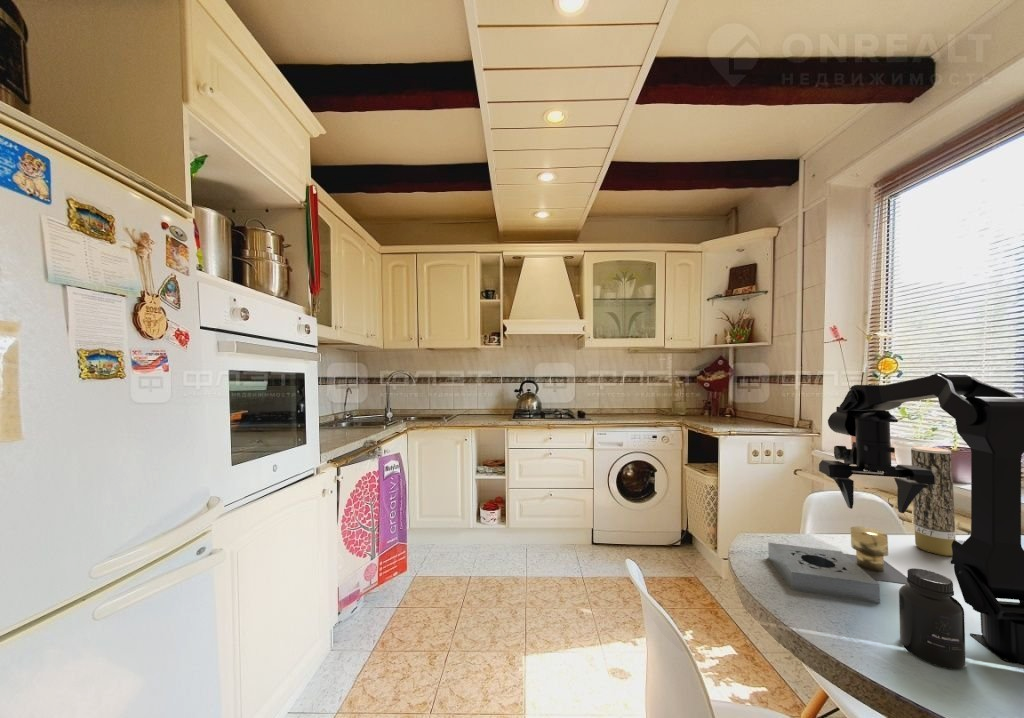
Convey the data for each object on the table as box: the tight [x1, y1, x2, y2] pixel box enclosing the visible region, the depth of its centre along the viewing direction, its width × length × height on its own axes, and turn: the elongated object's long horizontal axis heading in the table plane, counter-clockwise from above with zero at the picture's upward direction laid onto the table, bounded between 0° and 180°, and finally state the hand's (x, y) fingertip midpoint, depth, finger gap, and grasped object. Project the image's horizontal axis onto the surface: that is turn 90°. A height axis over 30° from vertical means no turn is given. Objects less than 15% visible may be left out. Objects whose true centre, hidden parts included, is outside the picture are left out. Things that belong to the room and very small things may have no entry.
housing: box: [767, 542, 881, 605], centre depth 80 cm, size 14×14×4 cm
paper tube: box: [910, 446, 957, 557], centre depth 94 cm, size 7×7×25 cm
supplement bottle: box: [898, 567, 966, 671], centre depth 59 cm, size 7×7×12 cm
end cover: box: [850, 526, 889, 572], centre depth 84 cm, size 6×6×8 cm
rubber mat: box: [844, 553, 909, 585], centre depth 84 cm, size 12×10×1 cm
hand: (875, 510), depth 85 cm, fingers open, 9 cm apart
